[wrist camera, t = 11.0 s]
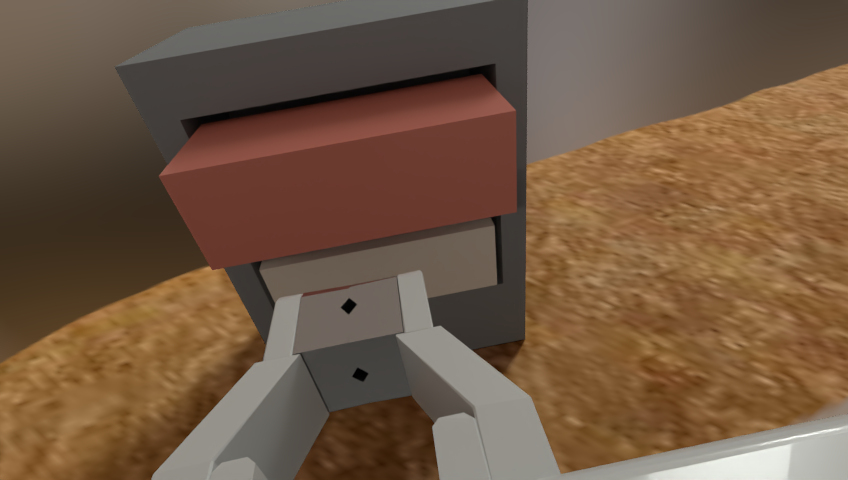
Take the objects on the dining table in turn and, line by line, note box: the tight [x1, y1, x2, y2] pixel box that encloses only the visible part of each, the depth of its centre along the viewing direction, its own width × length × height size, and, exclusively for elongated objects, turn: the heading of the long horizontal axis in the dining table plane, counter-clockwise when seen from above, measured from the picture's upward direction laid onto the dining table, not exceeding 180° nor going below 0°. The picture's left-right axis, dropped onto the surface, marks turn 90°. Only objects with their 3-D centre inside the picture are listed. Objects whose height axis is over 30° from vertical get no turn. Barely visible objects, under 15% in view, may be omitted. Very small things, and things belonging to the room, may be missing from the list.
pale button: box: [259, 217, 497, 303], centre depth 20 cm, size 4×10×3 cm, turn 98°
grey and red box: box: [115, 0, 528, 350], centre depth 21 cm, size 7×13×16 cm, turn 98°
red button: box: [159, 74, 517, 270], centre depth 14 cm, size 4×10×3 cm, turn 98°
